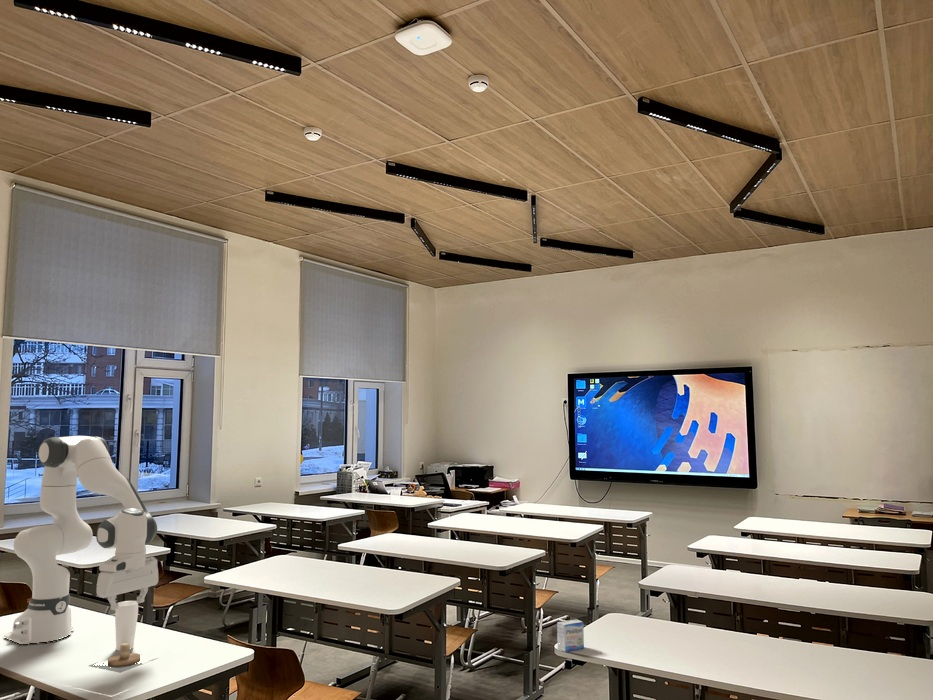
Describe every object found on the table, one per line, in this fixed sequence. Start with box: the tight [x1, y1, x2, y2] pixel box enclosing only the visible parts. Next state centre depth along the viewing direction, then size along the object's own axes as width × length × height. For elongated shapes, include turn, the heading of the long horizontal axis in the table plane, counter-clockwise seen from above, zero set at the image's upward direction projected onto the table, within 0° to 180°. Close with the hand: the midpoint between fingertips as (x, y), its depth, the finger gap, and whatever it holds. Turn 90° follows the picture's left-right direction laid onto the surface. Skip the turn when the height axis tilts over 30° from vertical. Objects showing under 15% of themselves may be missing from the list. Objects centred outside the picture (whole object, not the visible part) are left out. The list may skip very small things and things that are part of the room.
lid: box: [108, 643, 140, 667], centre depth 210 cm, size 9×9×5 cm
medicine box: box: [556, 618, 585, 653], centre depth 223 cm, size 8×4×9 cm, turn 117°
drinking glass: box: [114, 600, 139, 651], centre depth 223 cm, size 7×7×15 cm
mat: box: [88, 662, 143, 673], centre depth 209 cm, size 14×14×1 cm
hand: (127, 606), depth 211 cm, fingers open, 8 cm apart
